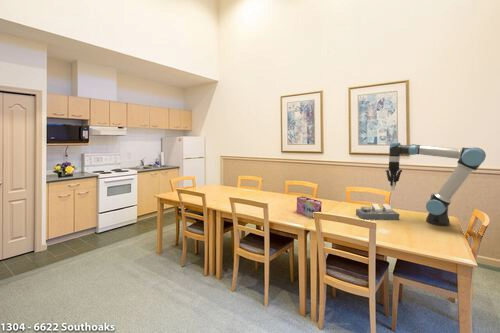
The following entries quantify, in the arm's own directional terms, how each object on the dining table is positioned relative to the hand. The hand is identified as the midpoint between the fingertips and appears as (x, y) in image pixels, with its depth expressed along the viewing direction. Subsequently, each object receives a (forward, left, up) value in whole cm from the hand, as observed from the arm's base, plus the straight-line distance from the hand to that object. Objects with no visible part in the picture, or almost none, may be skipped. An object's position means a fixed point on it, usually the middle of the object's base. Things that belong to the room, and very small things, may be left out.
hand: (392, 189), depth 214 cm
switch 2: (+11, -3, -17) cm, 20 cm away
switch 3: (+2, -4, -18) cm, 18 cm away
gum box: (+67, -8, -25) cm, 72 cm away
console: (+11, -2, -24) cm, 27 cm away
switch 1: (+20, -3, -17) cm, 26 cm away
